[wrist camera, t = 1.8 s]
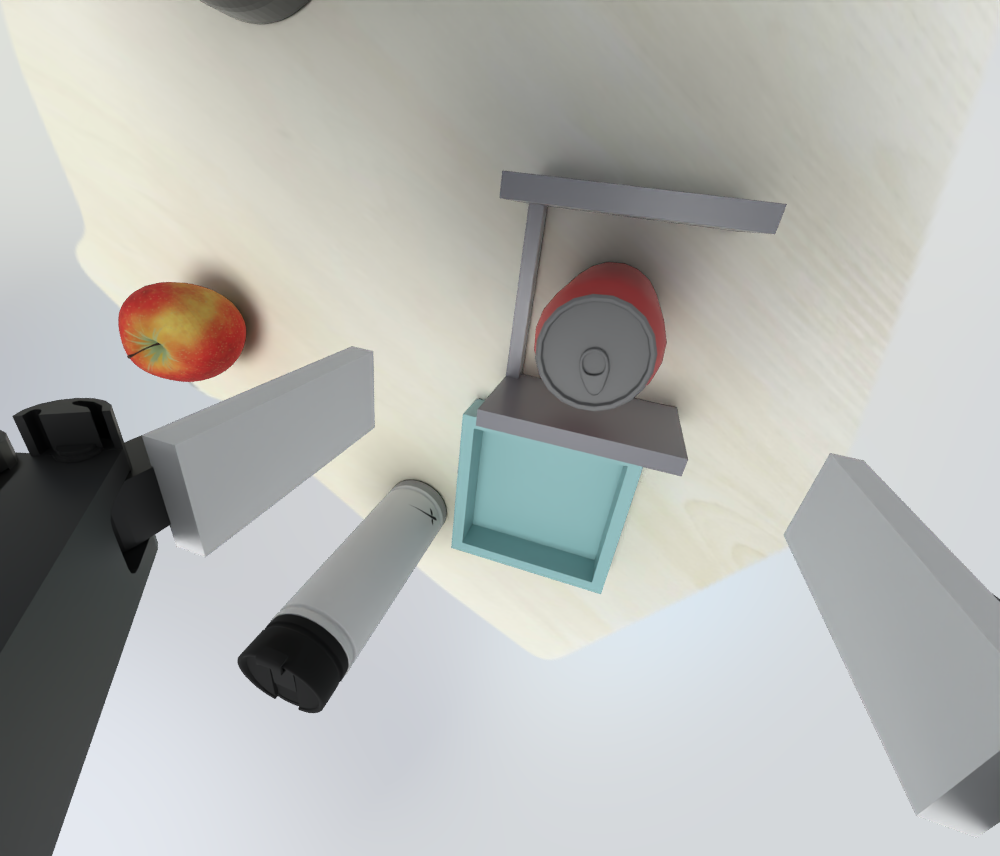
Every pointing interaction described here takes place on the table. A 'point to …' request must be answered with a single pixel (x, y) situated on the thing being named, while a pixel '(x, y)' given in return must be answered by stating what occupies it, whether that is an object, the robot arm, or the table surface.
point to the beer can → (601, 338)
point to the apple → (181, 331)
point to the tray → (540, 505)
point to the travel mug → (344, 600)
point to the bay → (521, 398)
